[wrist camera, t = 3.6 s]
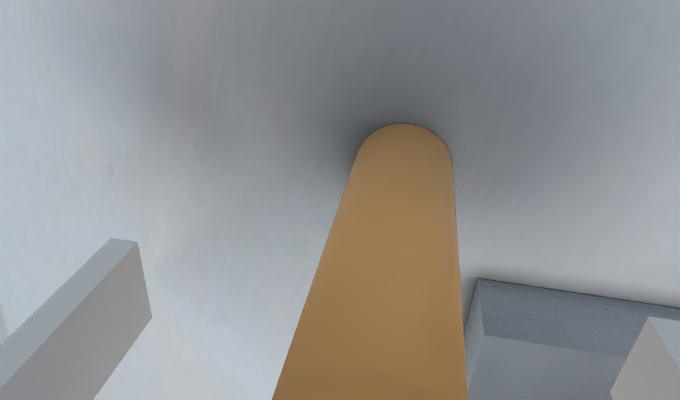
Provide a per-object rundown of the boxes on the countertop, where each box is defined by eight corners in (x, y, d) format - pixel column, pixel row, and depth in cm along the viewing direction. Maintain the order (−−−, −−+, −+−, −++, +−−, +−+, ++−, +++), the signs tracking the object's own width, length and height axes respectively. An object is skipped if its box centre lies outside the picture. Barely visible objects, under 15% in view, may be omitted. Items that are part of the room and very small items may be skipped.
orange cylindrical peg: (358, 118, 19) (265, 348, 9) (460, 129, 18) (491, 388, 8) (351, 204, 21) (270, 473, 11) (443, 216, 20) (451, 512, 10)
